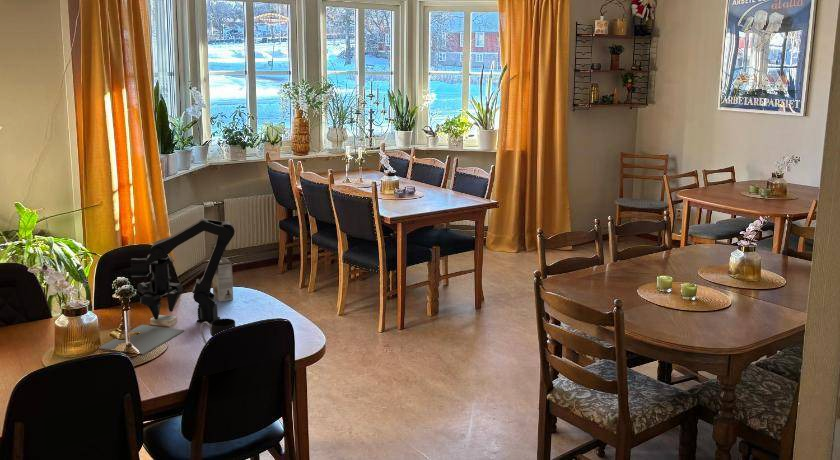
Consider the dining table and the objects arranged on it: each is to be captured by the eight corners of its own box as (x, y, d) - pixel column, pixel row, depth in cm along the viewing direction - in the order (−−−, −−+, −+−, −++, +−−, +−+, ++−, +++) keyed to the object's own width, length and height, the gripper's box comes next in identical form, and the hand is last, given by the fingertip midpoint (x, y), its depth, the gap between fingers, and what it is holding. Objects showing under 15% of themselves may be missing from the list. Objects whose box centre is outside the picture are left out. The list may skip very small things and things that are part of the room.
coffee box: (212, 295, 323) (210, 258, 320) (227, 293, 327) (225, 256, 323) (218, 302, 316) (216, 264, 312) (234, 299, 319) (232, 262, 315)
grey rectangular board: (184, 331, 283) (184, 329, 283) (143, 355, 260) (143, 353, 260) (141, 325, 288) (141, 324, 288) (98, 348, 265) (98, 347, 265)
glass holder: (226, 373, 246) (223, 328, 243) (193, 364, 253) (190, 321, 250) (244, 364, 254) (242, 320, 250) (212, 355, 261) (210, 313, 257)
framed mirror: (177, 323, 292) (176, 316, 292) (169, 327, 288) (169, 320, 287) (158, 321, 294) (157, 314, 293) (150, 325, 289) (150, 318, 289)
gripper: (157, 266, 297) (160, 305, 301) (126, 280, 280) (129, 321, 284) (182, 269, 294) (185, 308, 298) (152, 283, 277) (155, 324, 280)
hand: (163, 315), depth 290 cm, fingers open, 9 cm apart
